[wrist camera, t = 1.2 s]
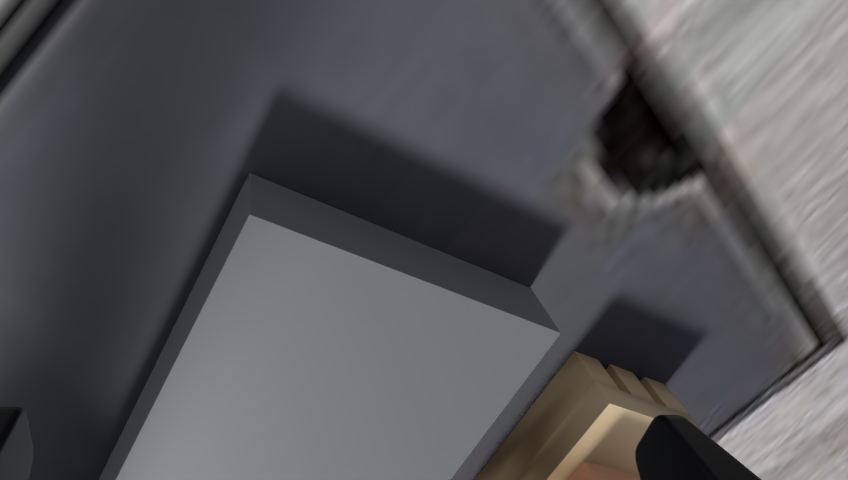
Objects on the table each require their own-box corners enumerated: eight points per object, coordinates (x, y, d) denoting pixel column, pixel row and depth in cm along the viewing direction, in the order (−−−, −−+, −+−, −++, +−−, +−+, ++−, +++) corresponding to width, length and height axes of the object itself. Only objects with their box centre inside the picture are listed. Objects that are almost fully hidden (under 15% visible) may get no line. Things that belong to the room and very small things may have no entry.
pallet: (547, 518, 34) (575, 579, 32) (456, 498, 32) (477, 562, 29) (663, 382, 31) (706, 435, 28) (572, 348, 29) (609, 403, 26)
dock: (330, 569, 32) (337, 629, 29) (72, 533, 27) (53, 602, 24) (530, 288, 26) (560, 333, 24) (249, 172, 21) (249, 214, 18)
